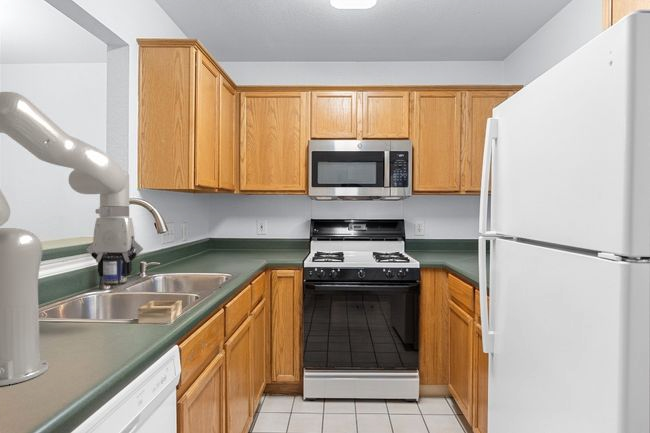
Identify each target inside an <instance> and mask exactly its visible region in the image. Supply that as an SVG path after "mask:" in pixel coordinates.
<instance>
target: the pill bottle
mask: <svg viewBox="0 0 650 433" xmlns="http://www.w3.org/2000/svg"><path fill="white" fill-rule="evenodd" d="M124 262H125V259H124V257H123V254H122V253H107V254H106V255H104V256H103V276H102V285H103V286H107V287H114V286H115V287H116V286H122V285H126V284H127V282H128V276H123V263H124Z"/></svg>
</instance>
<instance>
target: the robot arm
mask: <svg viewBox="0 0 650 433" xmlns="http://www.w3.org/2000/svg"><path fill="white" fill-rule="evenodd" d="M1 133H2V134H5V135H7V136H8V137H9V138H11V139H12V140H13V141H15V142H16V143H17V144H19V145H20V146H21V147H23V148H24V149H26V150H27V151H28V152H29V153H30V154H32V155H33V156H34V157H35V158H37V159H38V160H41V161H42V162H46V163H48V164H50V165H55V166H59V167H65V168H70V169H73V170H72V171H71V172H70V173H69V175H68V184H69V186H70V188H71V189H72V190H73V191H74V192H76V193H78V194H82V195H99V207H98V208H95V214H97V215H98V216H99V217H96V220H95V224H94V229H93V238H92V239H93V240H92V243H90V245H89V246H87V247H86V248H85V249H86V252H88V254H89V255H90V256H91V257H92V258H93V259H94V260H95V262H96V263H97V273H98V277H103V256H104V255H106V254H107V253H122V254H123V257H124V259H125V262H124V263H123V276H127V277H128V276H131V274H132V271H133V270H132V269H133V261H134V260H135V259H136V258H137V257H138V256H139V255H140V254H141V253H142V252H143V250H144V248H143V246H141V245H140V244H139V243H138V242H137V241H136V239H135V228H134V222H133V219H132V217H130V174H129V172H128V171H127V170H123V168H122V167H121V166H120V165H119V164H118V163H117V162H116V161H115V160H114V159H113V158H112V157H111V156H110V155H109V154H107V153H106V152H104V151H103V150H102V149H99V148H97V147H96V146H93V145H91V144H90V143H87V142H85V141H83V140H81V139H79V138H76V137H74V136H72V135H70V134H68V133H66V132H65V131H64V130H63V129H62V128H61V127H60V126H59V125H57V124H56V123H55V122H54V121H53V120H52V119H50V117H48V116H47V115H46V113H44V112H43V111H41V109H39V108H38V107H37V106H36V105H35V104H34V103H33V102H32V101H30V100H29V99H28V98H27V97H26V96H24V95H22V94H20V93H18V92H15V91H14V92H13V91H0V134H1ZM10 216H11V207H10V205H9V202H8V200H7V198H6V196H5V195H4V193H3V191H2V190H1V189H0V387H2V386H9V384H10V385H13V384H14V385H15V384H19V383H21V382H25V381H28V380H30V379H33V378H36V377H38V376H40V375H42V374H43V373H45V372H46V371H47V370H48V369H49V361H48V360H47V359H44V358H41V356H40V355H41V354H40V350H41V349H40V320H39V319H40V316H39V314H40V313H39V312H40V311H39V310H40V309H39V275H40V274H39V272H40V266H41V263H42V257H43V244H42V242H41V240H40V238H39V237H38V236H37V235H36V234H34V233H33V232H31V231H29V230H26V229H22V228H17V227H16V228H15V227H2V226H3V225H5V224H6V223H7V222H8V221H9V219H10ZM132 251H133V252H132Z"/></svg>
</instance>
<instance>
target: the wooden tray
mask: <svg viewBox="0 0 650 433" xmlns="http://www.w3.org/2000/svg"><path fill="white" fill-rule="evenodd" d="M182 302H183V300H150V301H149V302H147V303H145V304H144V305H142V306H140V307H139V308H138V309H137V314H138V315H137V316H138V318H137V319H138V322H137V323H138V324H172V323H173V322H174V321H176V318H177V317H178V316H179V315H180V314H181V313H183V312H182V311H183V307H182V306H183V305H182ZM181 315H182V314H181ZM181 315H180V316H181ZM180 316H179V317H180ZM179 317H178V318H179ZM178 318H177V319H178ZM167 322H169V323H167Z"/></svg>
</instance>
